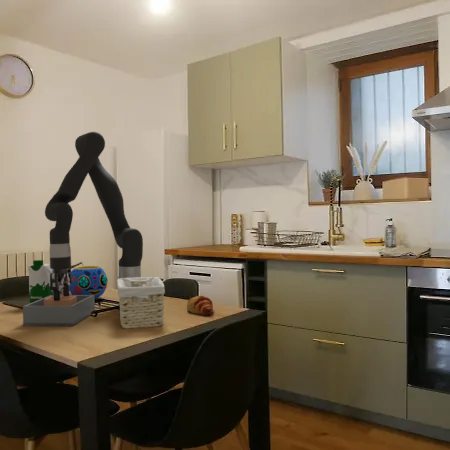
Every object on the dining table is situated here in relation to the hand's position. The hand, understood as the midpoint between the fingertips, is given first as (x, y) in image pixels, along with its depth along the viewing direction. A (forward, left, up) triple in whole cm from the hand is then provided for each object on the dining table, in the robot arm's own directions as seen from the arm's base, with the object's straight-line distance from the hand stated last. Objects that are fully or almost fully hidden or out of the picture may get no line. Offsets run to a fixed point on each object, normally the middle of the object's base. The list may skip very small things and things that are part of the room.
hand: (61, 298), depth 170 cm
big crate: (0, 0, -8) cm, 8 cm away
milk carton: (+19, -24, -8) cm, 32 cm away
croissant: (-51, -14, -8) cm, 53 cm away
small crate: (+1, 0, -7) cm, 7 cm away
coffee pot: (+25, -59, -8) cm, 65 cm away
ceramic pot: (+4, -39, -8) cm, 40 cm away
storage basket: (-31, +3, -8) cm, 32 cm away
